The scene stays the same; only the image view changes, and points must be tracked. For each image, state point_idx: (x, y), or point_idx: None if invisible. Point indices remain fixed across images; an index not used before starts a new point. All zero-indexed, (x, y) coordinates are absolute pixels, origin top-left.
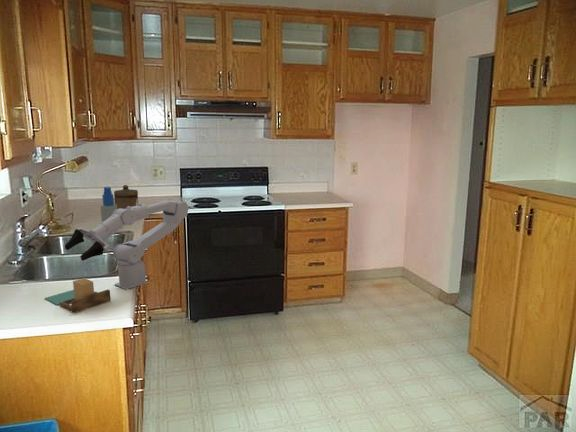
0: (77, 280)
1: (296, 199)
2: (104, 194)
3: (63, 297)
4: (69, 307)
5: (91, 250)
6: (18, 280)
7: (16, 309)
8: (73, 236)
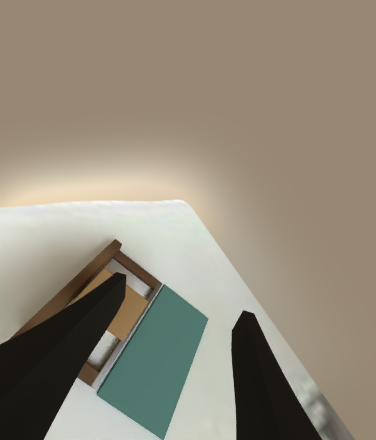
0: (136, 309)
1: None
2: None
3: (173, 329)
4: (127, 257)
5: (44, 321)
6: (322, 427)
7: (218, 265)
8: (300, 427)
